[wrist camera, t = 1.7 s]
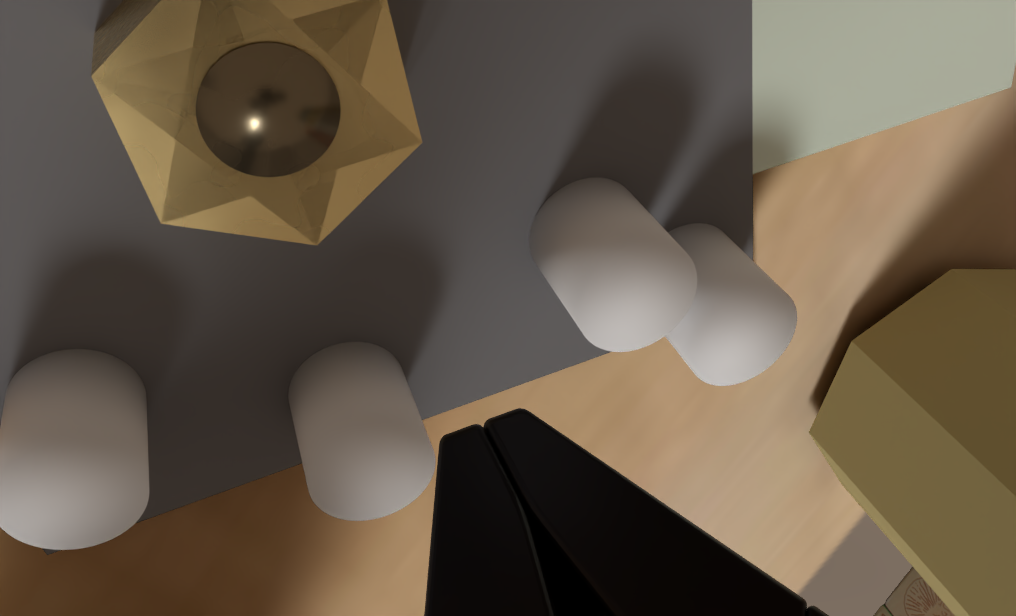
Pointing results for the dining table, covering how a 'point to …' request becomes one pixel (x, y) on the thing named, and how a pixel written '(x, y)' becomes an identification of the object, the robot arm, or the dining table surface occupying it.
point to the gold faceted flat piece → (256, 109)
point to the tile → (868, 67)
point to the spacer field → (369, 262)
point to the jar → (936, 435)
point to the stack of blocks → (913, 599)
